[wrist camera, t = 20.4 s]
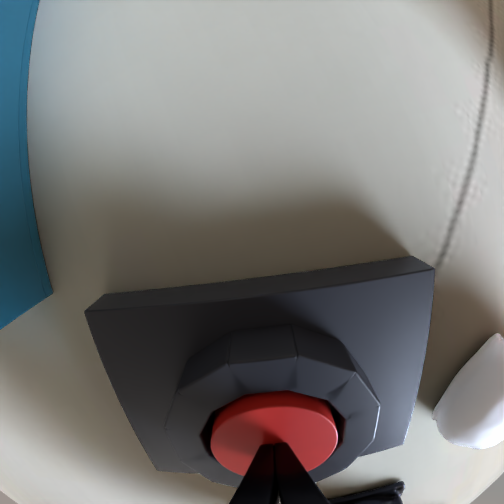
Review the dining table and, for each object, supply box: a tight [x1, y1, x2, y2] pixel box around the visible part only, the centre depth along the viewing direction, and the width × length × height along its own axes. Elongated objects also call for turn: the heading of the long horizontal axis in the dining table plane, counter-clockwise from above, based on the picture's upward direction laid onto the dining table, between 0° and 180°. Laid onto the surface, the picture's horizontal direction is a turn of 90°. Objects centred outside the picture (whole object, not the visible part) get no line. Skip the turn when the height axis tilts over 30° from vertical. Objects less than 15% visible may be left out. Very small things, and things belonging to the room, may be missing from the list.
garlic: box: [432, 333, 504, 449], centre depth 10 cm, size 8×7×4 cm
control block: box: [84, 256, 435, 488], centre depth 10 cm, size 12×9×4 cm
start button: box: [211, 390, 338, 476], centre depth 9 cm, size 4×4×2 cm
